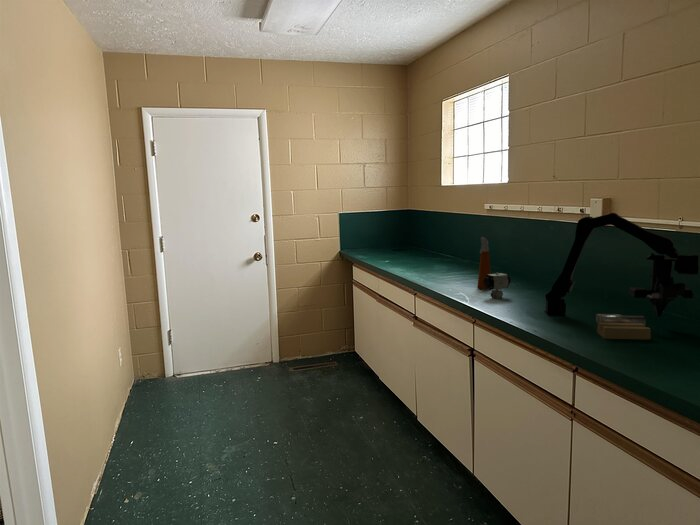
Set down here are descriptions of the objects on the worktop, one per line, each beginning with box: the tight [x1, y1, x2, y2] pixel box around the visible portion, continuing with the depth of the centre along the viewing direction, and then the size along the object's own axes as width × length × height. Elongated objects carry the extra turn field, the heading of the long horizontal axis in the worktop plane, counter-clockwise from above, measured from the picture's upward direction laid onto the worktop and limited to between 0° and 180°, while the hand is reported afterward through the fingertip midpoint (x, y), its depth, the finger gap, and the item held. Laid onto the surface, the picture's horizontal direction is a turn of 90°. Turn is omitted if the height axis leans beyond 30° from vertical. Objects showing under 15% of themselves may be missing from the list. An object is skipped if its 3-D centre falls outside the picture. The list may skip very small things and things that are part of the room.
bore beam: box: [595, 313, 631, 324], centre depth 172 cm, size 8×10×3 cm
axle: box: [599, 315, 647, 326], centre depth 171 cm, size 14×4×4 cm, turn 81°
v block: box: [596, 323, 652, 340], centre depth 160 cm, size 14×7×4 cm, turn 81°
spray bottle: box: [476, 236, 492, 290], centre depth 238 cm, size 7×11×26 cm, turn 146°
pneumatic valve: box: [484, 271, 512, 300], centre depth 218 cm, size 6×12×12 cm, turn 111°
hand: (658, 316), depth 169 cm, fingers closed
